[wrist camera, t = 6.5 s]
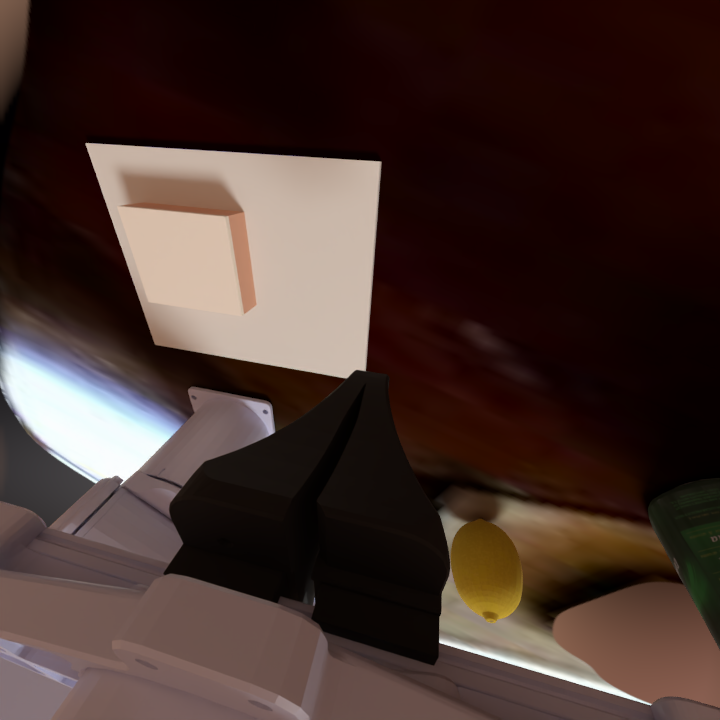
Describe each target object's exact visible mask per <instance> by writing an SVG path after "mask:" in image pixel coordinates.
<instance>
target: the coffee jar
mask: <svg viewBox="0 0 720 720" xmlns="http://www.w3.org/2000/svg"><path fill="white" fill-rule="evenodd" d="M648 515H649V518H650V521H651V524H652V526H653V529H654V531H655V533H656V534H657V536H658V538H659V540H660V542H661V544H662V545H663V547H664V549H665V551H666V553H667V555H668V557H669V558H670V560H671V562H672V564H673V566H674V568H675V569H676V571H677V573H678V574H679V576H680V578H681V580H682V582H683V583H684V585H685V587H686V589H687V590H688V592H689V594H690V596H691V597H692V599H693V601H694V603H695V605H696V607H697V608H698V610H699V612H700V614H701V616H702V617H703V619H704V621H705V623H706V625H707V627H708V629H709V631H710V633H711V634H712V636H713V638H714V640H715V641H716V643H717V645H718V647H719V649H720V478H712V479H703V480H698V481H693V482H689V483H686V484H683V485H679V486H677V487H675V488H674V489H672V490H669V491H667V492H665V493H663V494H661V495H659V496H658V497H656V498H655V499H653V500H652V501H651V502H650V504H649V507H648Z"/></svg>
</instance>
